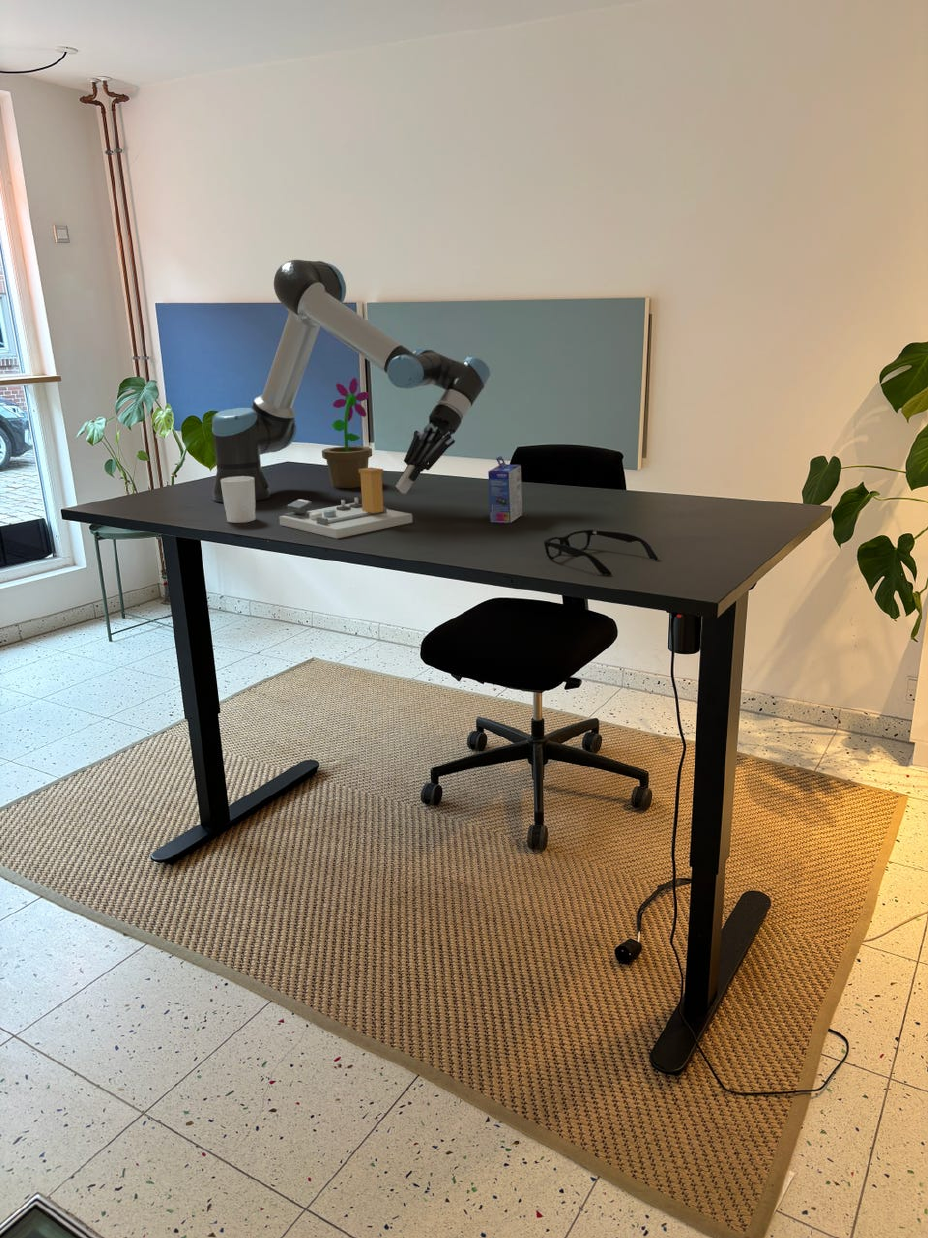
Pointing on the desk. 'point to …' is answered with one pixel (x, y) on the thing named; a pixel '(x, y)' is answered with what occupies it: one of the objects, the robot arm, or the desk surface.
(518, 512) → the ink cartridge box
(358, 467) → the flowerpot
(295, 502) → the rocker
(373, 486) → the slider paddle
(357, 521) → the console
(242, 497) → the white cup
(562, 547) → the glasses
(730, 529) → the desk surface
